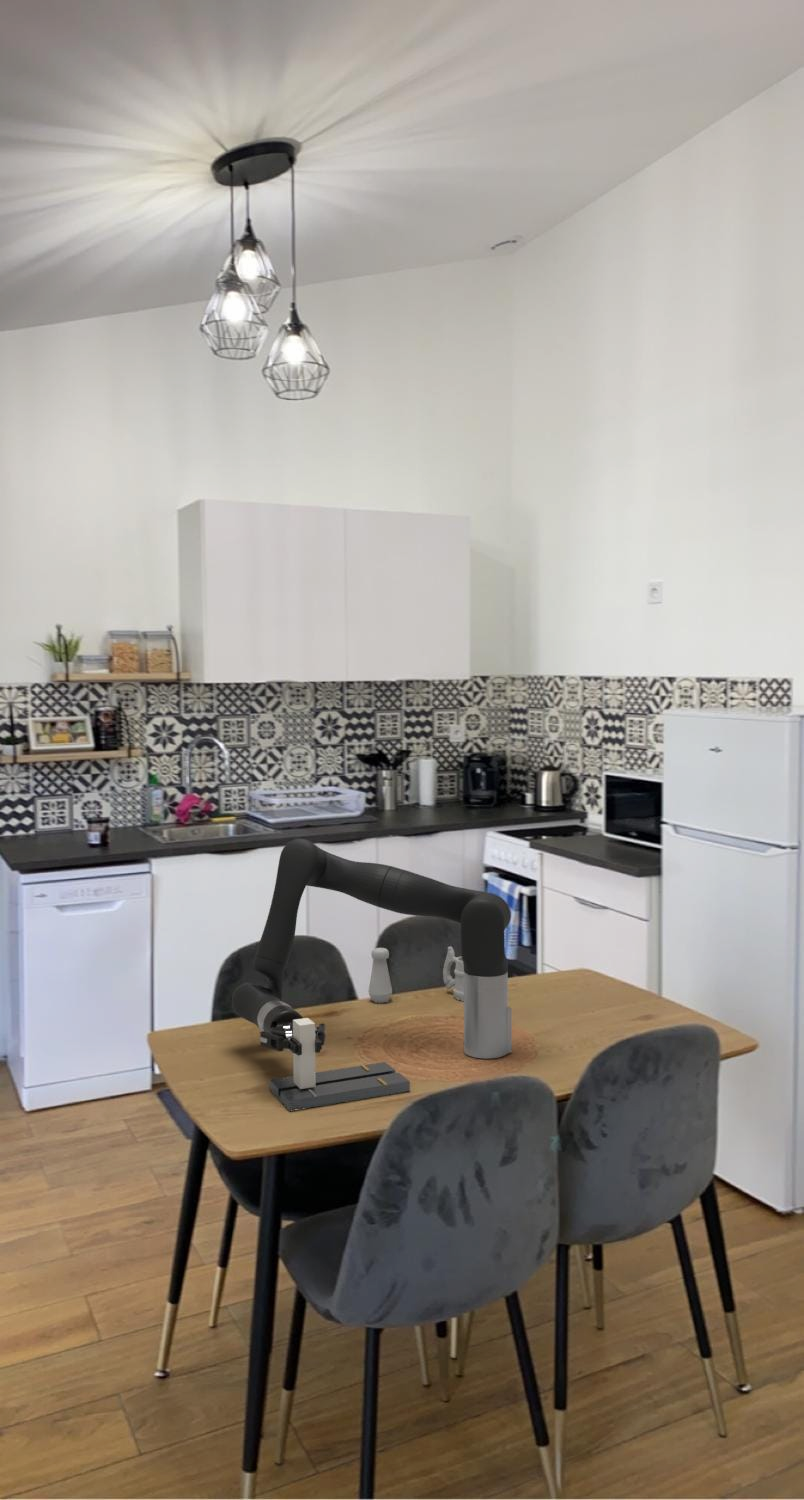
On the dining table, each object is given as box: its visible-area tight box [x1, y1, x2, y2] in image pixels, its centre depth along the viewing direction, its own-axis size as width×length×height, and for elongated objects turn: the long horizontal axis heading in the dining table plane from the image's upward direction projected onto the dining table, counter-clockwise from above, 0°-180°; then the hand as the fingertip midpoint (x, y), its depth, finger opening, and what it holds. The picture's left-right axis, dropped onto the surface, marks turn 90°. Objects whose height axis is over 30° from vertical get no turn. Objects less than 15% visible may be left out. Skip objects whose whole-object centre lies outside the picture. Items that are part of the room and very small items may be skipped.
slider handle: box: [292, 1017, 316, 1089], centre depth 209 cm, size 3×4×13 cm
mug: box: [442, 946, 464, 1002], centre depth 276 cm, size 8×12×12 cm, turn 49°
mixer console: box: [269, 1061, 411, 1112], centre depth 212 cm, size 24×12×2 cm, turn 114°
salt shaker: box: [368, 947, 393, 1004], centre depth 273 cm, size 6×6×13 cm
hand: (309, 1048), depth 206 cm, fingers closed on slider handle, 3 cm apart
